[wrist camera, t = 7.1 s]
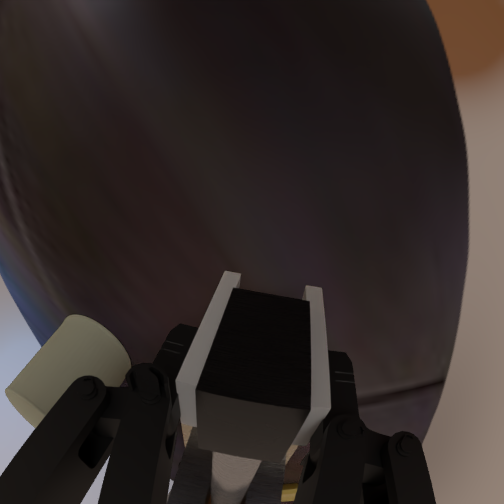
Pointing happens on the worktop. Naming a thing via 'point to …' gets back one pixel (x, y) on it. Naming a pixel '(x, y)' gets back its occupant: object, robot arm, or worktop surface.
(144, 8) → the worktop surface
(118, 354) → the can
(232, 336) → the shaft
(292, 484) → the saucer
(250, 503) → the block
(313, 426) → the robot arm
